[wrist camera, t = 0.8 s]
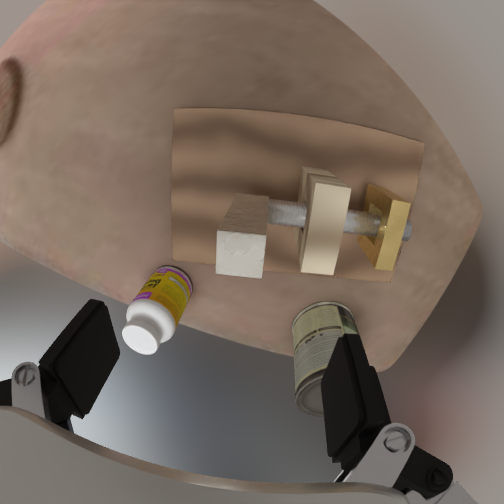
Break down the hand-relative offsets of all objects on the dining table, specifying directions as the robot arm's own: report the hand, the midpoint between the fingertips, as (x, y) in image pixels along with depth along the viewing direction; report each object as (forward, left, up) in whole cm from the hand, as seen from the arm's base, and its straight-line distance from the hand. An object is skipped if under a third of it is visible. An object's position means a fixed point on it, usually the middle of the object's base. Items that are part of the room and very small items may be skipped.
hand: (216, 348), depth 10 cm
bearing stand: (0, +5, -26) cm, 26 cm away
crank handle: (0, +7, -19) cm, 21 cm away
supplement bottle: (+15, -12, -26) cm, 32 cm away
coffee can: (+20, +12, -26) cm, 35 cm away
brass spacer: (0, +14, -22) cm, 26 cm away
